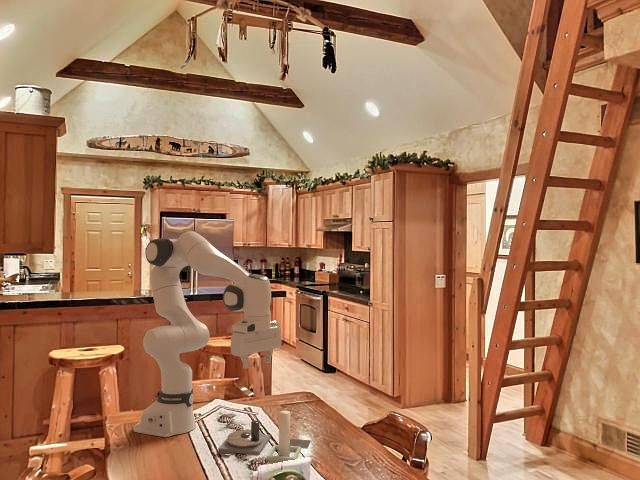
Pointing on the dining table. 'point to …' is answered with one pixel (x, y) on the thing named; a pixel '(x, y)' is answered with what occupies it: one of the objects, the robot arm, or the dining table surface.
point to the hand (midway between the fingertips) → (257, 365)
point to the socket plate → (300, 443)
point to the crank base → (229, 449)
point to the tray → (281, 458)
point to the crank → (246, 437)
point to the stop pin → (284, 433)
